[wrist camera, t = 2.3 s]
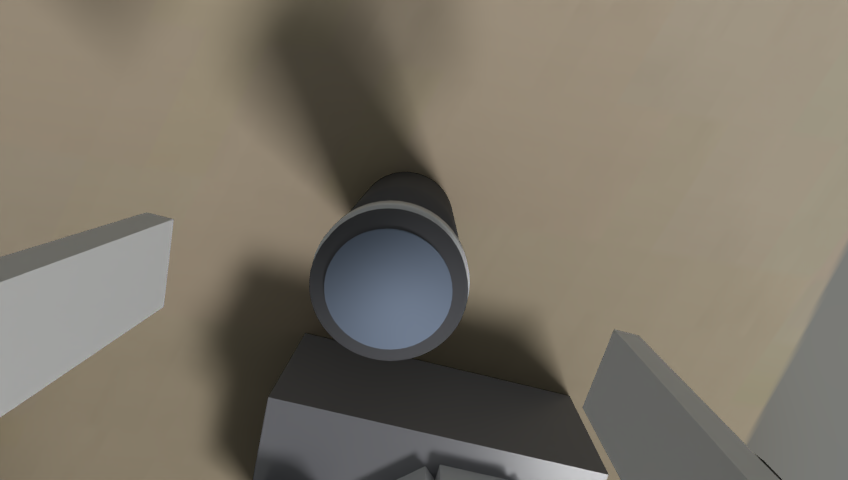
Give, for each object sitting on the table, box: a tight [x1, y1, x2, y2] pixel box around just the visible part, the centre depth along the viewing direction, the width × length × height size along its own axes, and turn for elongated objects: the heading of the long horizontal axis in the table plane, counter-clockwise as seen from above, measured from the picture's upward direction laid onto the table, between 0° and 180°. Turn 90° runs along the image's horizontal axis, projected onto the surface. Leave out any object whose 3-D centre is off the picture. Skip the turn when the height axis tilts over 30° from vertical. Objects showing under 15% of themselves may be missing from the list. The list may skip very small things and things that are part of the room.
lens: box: [309, 172, 470, 361], centre depth 19 cm, size 5×5×10 cm
